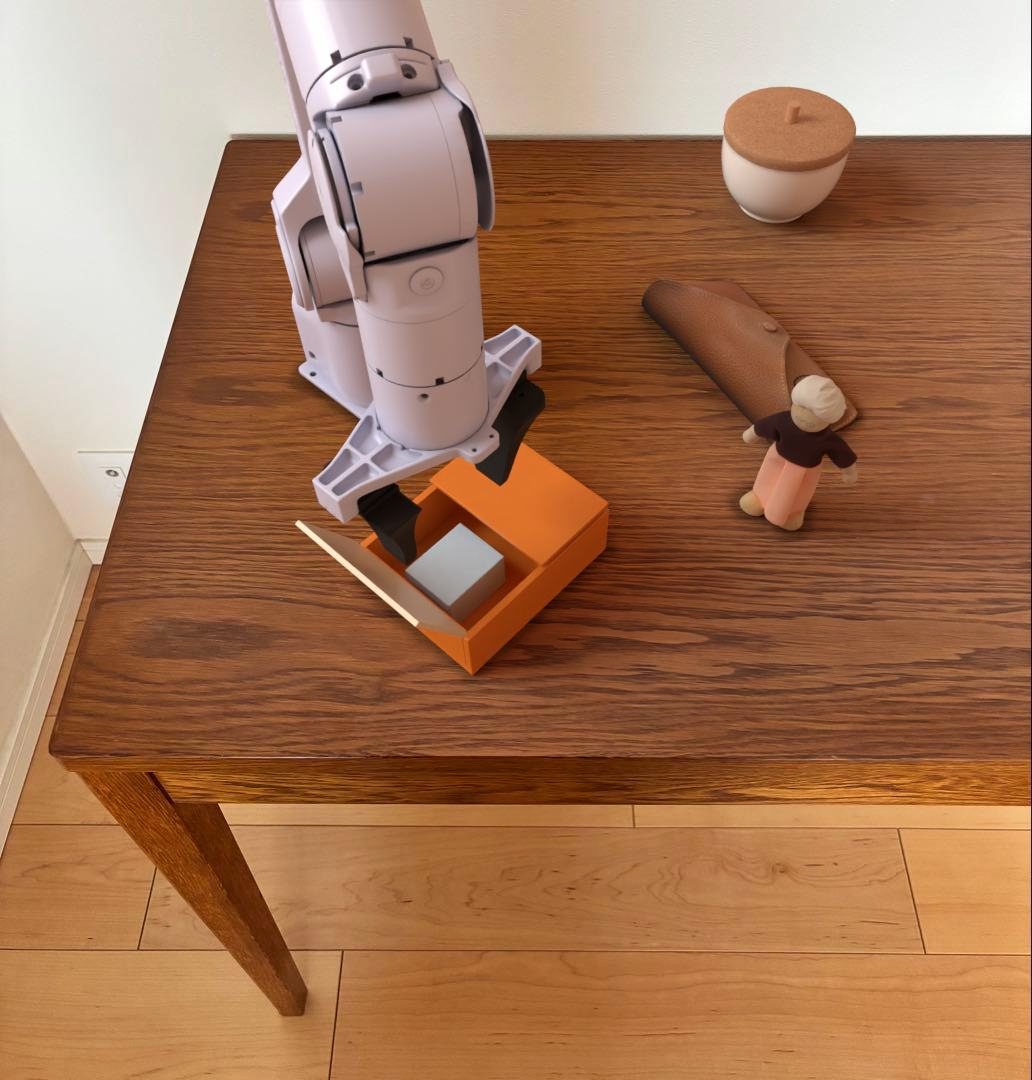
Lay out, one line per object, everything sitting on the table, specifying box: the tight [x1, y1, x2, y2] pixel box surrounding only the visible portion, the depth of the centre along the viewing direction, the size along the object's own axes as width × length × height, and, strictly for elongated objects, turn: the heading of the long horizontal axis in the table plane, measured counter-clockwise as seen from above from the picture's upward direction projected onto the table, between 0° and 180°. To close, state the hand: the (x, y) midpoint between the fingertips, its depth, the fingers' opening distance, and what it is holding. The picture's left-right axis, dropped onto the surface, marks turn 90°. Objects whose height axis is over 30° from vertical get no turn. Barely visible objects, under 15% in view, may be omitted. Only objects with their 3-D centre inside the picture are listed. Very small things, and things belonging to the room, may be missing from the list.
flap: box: [294, 519, 467, 638], centre depth 57 cm, size 6×10×1 cm
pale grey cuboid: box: [405, 523, 506, 624], centre depth 64 cm, size 5×4×3 cm
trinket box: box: [720, 86, 857, 224], centre depth 84 cm, size 11×11×9 cm
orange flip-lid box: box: [359, 441, 610, 676], centre depth 64 cm, size 13×10×5 cm
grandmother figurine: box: [739, 375, 859, 531], centre depth 63 cm, size 8×4×13 cm, turn 70°
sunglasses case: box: [641, 277, 859, 446], centre depth 75 cm, size 18×7×7 cm
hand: (446, 512), depth 58 cm, fingers open, 7 cm apart
